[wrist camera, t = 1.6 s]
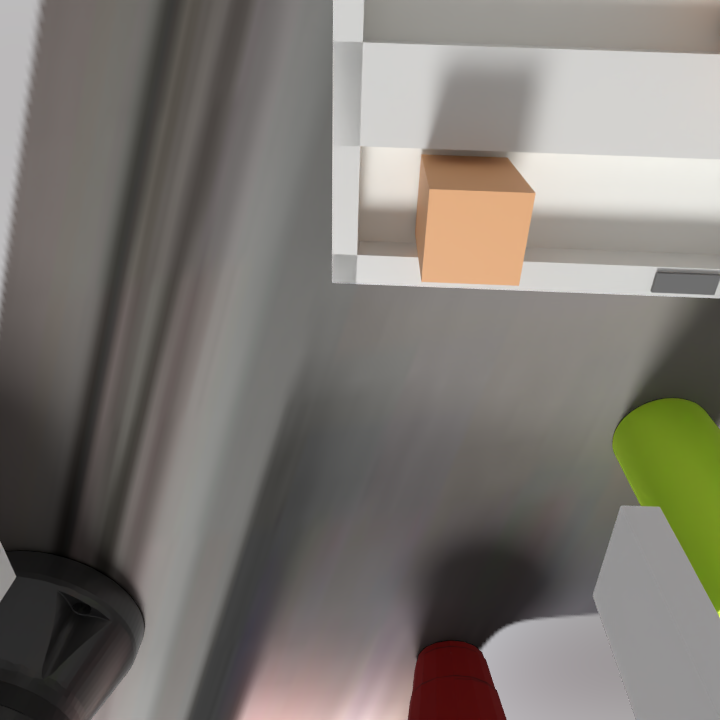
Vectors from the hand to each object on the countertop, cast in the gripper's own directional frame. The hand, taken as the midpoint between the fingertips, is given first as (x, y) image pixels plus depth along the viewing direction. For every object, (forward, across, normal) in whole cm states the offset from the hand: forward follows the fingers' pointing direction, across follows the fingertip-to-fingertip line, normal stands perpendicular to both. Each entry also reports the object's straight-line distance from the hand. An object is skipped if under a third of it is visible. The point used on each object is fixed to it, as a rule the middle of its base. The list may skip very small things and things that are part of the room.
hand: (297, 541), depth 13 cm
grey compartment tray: (+21, +10, +6) cm, 25 cm away
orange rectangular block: (+20, +5, +2) cm, 21 cm away
